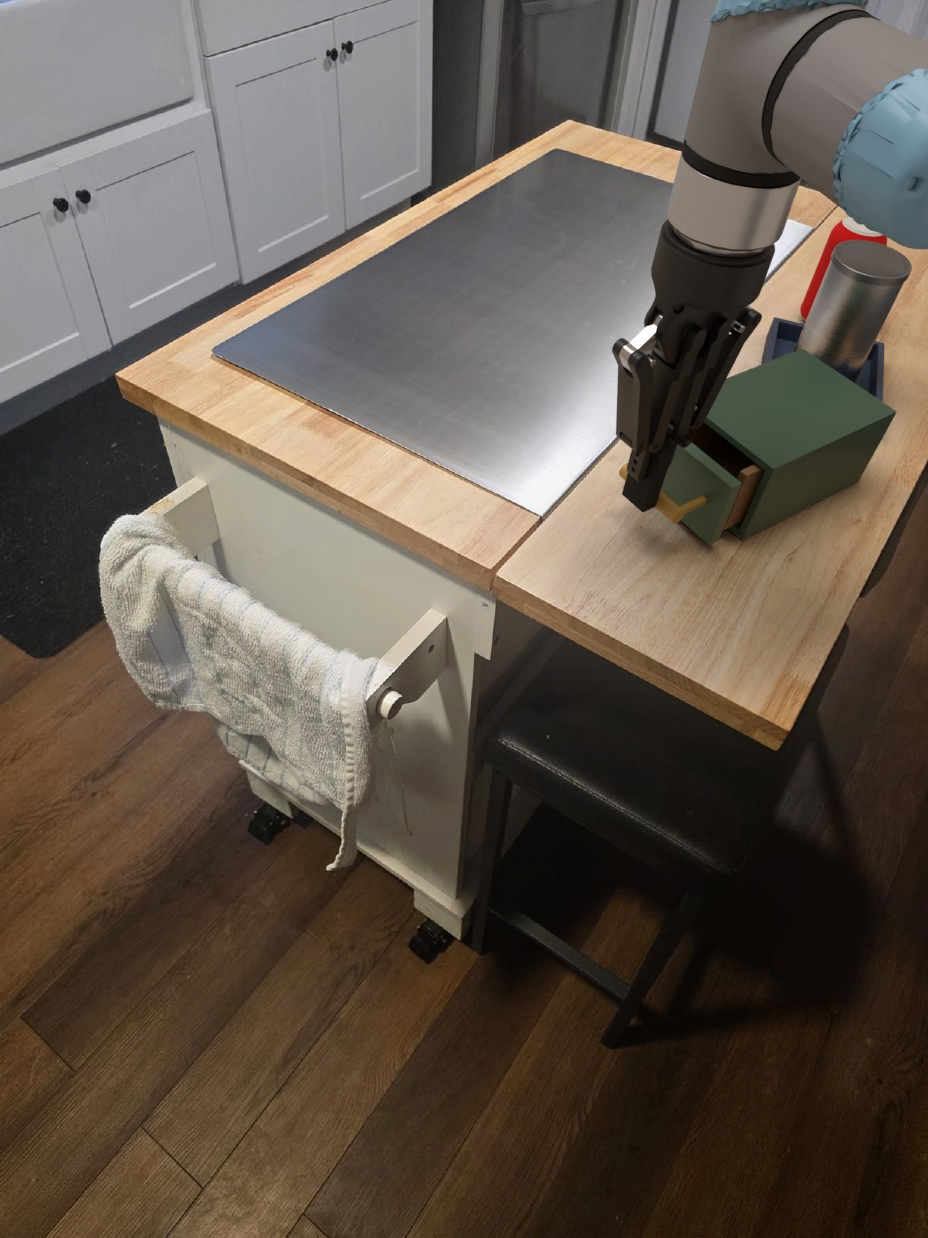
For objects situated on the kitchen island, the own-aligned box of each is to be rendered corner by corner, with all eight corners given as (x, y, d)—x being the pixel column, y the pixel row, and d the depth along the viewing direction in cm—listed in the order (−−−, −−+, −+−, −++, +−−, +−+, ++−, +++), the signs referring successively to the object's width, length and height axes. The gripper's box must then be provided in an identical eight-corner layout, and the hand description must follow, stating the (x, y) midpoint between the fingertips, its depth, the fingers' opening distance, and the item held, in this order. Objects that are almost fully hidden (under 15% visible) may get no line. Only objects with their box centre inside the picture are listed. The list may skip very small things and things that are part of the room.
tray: (871, 441, 90) (882, 420, 88) (751, 410, 92) (759, 390, 90) (874, 362, 100) (884, 342, 98) (766, 336, 101) (774, 316, 100)
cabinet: (741, 540, 79) (774, 469, 72) (657, 468, 85) (680, 396, 78) (858, 481, 85) (897, 411, 79) (773, 418, 91) (802, 347, 85)
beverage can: (853, 319, 105) (898, 220, 96) (842, 342, 102) (887, 243, 93) (803, 303, 107) (843, 205, 98) (791, 326, 103) (830, 226, 94)
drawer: (674, 562, 75) (695, 505, 70) (599, 493, 80) (614, 434, 75) (824, 488, 83) (853, 431, 78) (747, 429, 88) (769, 372, 83)
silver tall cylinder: (866, 389, 95) (928, 267, 84) (821, 409, 92) (879, 285, 81) (814, 354, 99) (866, 233, 88) (768, 372, 96) (817, 249, 85)
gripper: (747, 187, 61) (664, 452, 79) (607, 225, 56) (552, 500, 74) (830, 233, 58) (722, 500, 76) (688, 279, 52) (609, 555, 70)
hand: (638, 500), depth 75 cm, fingers closed
